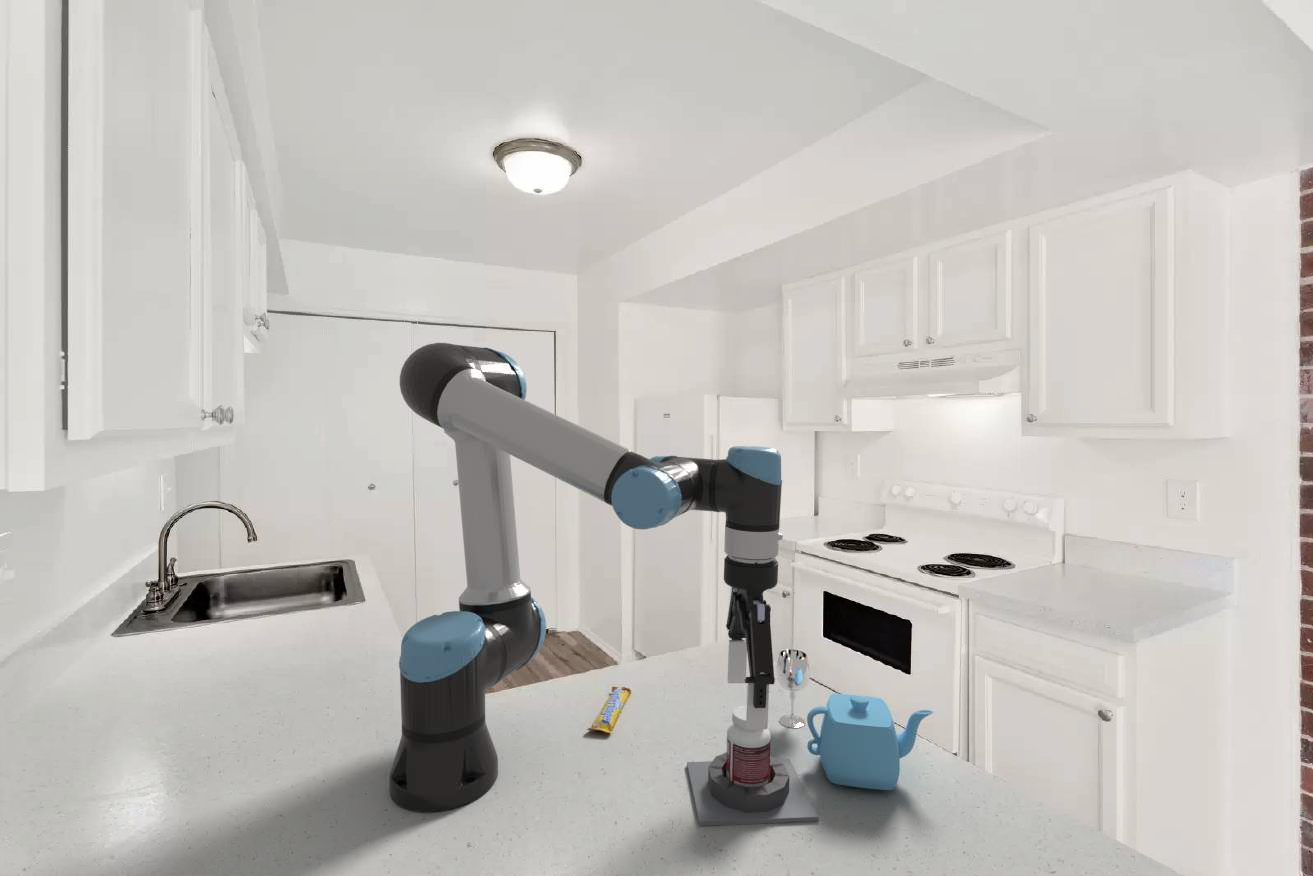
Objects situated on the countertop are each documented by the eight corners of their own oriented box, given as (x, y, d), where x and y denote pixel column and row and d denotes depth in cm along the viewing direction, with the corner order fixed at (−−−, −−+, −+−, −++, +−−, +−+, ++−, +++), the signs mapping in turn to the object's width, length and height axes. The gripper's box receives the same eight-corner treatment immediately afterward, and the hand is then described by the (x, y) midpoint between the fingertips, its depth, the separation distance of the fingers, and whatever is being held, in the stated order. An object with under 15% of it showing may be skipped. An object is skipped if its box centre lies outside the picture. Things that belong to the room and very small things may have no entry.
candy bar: (611, 693, 123) (611, 683, 123) (633, 695, 123) (633, 685, 123) (586, 737, 107) (586, 726, 107) (610, 740, 106) (610, 729, 106)
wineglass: (812, 717, 113) (813, 651, 112) (805, 733, 108) (806, 663, 107) (779, 711, 116) (780, 646, 115) (771, 725, 110) (772, 657, 110)
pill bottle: (779, 791, 90) (780, 716, 90) (746, 807, 87) (748, 728, 86) (748, 770, 96) (750, 699, 95) (717, 784, 92) (718, 710, 91)
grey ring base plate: (699, 826, 84) (699, 804, 84) (687, 765, 98) (687, 747, 98) (818, 821, 85) (818, 799, 85) (789, 762, 99) (789, 743, 99)
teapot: (940, 806, 88) (942, 726, 88) (807, 789, 92) (808, 712, 92) (922, 758, 100) (924, 687, 100) (805, 745, 104) (806, 676, 104)
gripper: (804, 582, 77) (796, 751, 79) (757, 537, 102) (752, 666, 104) (743, 582, 77) (736, 752, 78) (711, 537, 102) (706, 666, 103)
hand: (745, 703), depth 91 cm, fingers open, 13 cm apart
